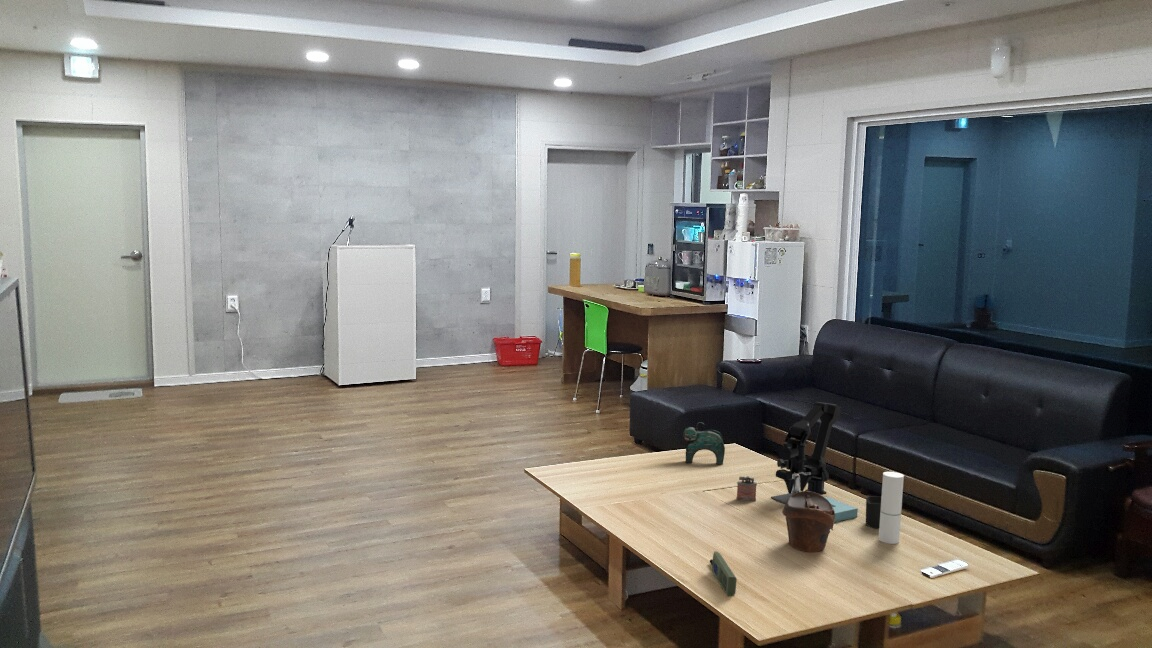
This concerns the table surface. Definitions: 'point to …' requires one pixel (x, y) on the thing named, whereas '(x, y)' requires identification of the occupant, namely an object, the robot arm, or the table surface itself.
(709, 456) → the table surface
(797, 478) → the steel pin
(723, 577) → the handheld radio
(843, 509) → the teal square hole block
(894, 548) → the table surface
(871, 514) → the pen holder
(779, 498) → the rubber mat
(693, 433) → the ceramic cat
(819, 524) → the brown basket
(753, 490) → the lighter
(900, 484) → the cylindrical container
